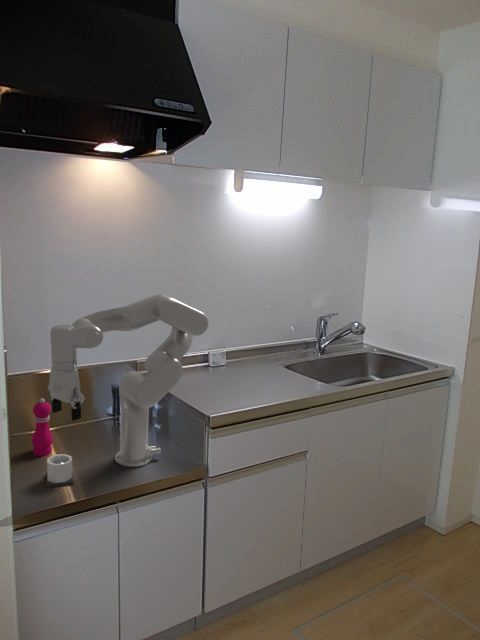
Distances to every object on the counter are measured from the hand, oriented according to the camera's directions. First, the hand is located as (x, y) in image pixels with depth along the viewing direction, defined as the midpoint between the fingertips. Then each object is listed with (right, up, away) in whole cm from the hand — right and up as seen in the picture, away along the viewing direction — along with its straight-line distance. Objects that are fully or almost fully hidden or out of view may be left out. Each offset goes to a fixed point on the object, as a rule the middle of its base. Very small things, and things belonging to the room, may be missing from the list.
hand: (66, 415), depth 176 cm
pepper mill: (-14, -16, +18) cm, 28 cm away
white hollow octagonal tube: (-2, -20, -1) cm, 20 cm away
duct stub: (-2, -21, 0) cm, 21 cm away
